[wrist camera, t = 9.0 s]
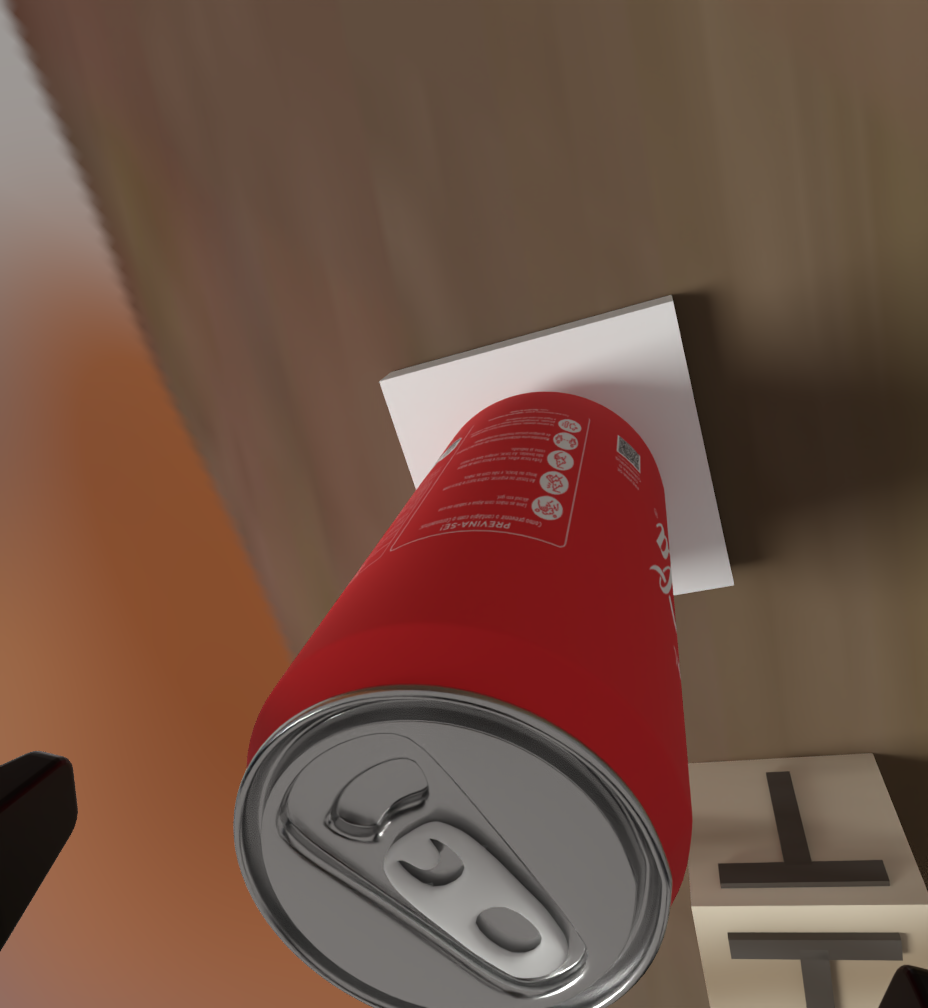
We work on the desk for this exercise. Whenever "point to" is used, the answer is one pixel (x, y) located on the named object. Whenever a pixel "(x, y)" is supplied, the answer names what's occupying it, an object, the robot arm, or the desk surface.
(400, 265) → the desk surface
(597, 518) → the beverage can
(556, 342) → the white mat
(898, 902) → the letter block
